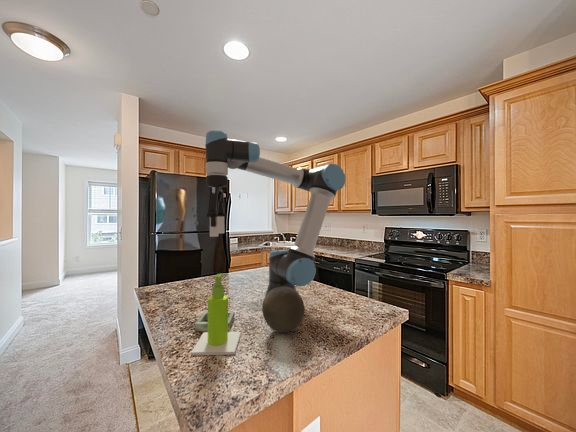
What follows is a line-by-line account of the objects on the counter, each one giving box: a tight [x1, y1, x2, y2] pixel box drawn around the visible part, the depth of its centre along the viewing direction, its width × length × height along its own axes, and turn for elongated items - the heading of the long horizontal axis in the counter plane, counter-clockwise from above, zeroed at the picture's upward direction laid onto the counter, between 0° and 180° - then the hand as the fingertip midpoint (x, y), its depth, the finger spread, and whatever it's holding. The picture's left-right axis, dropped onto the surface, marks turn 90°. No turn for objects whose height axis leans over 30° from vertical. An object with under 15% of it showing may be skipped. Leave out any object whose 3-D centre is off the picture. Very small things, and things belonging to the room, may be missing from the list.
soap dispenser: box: [207, 272, 229, 346], centre depth 77 cm, size 6×7×20 cm
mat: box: [190, 331, 242, 356], centre depth 76 cm, size 12×12×1 cm
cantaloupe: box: [261, 286, 306, 334], centre depth 84 cm, size 14×14×15 cm
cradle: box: [194, 311, 235, 332], centre depth 90 cm, size 11×10×2 cm
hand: (217, 234), depth 90 cm, fingers open, 13 cm apart
